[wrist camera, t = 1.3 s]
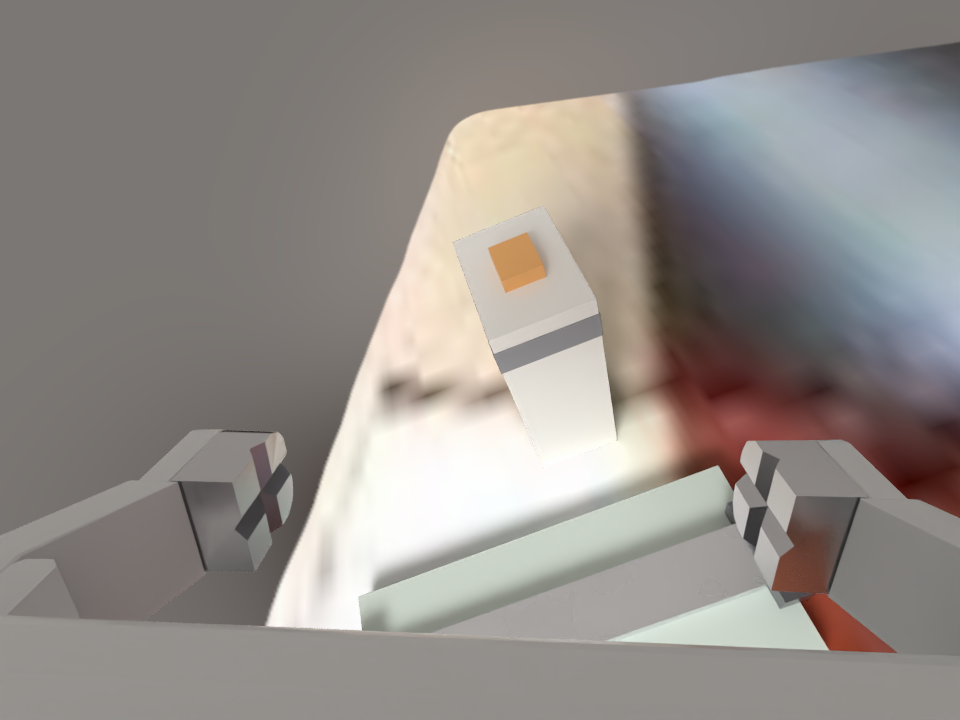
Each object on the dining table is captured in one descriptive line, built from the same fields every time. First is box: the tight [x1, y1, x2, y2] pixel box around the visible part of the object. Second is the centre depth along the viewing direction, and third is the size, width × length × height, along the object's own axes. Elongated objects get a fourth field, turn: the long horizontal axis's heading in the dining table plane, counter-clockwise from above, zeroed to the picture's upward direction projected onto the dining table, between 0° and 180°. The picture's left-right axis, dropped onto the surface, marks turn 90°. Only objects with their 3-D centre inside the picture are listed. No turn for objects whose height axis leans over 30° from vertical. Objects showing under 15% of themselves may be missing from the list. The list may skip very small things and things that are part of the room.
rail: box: [429, 501, 816, 641], centre depth 27 cm, size 23×5×2 cm, turn 106°
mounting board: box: [359, 465, 829, 650], centre depth 28 cm, size 22×10×2 cm, turn 106°
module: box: [453, 206, 617, 468], centre depth 31 cm, size 7×5×15 cm
